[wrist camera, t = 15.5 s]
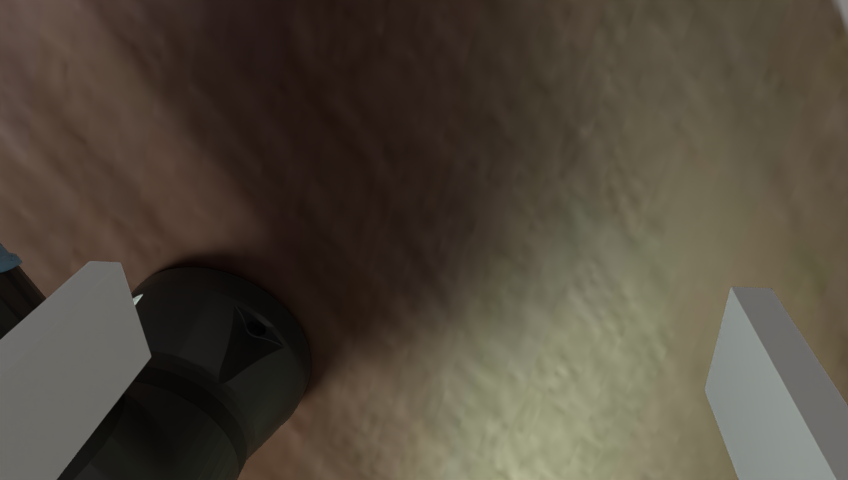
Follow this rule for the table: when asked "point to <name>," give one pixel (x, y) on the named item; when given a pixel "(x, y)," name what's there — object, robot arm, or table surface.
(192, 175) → the table surface
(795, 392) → the robot arm
